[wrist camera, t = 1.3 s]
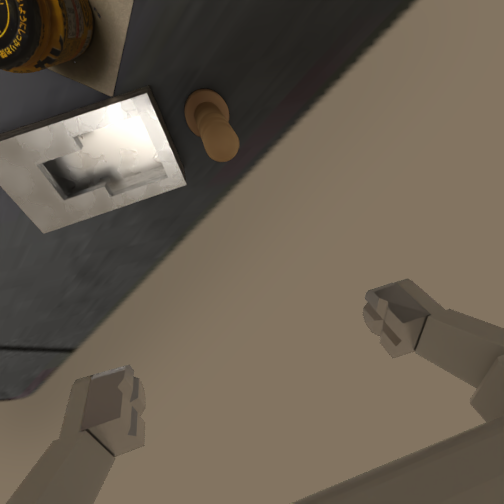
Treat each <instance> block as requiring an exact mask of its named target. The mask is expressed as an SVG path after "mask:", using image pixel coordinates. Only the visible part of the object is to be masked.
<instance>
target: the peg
mask: <svg viewBox="0 0 504 504" xmlns="http://www.w3.org/2000/svg"><path fill="white" fill-rule="evenodd" d="M184 113H185V118H186V122H187V124H188V126H189V128H190V129H191V131H192V132H193V133H194V134H196V135H197V136H199V137H201V138H202V141H203V144H204V147H205V150H206V152H207V154H208V155H209V157H210V158H212V159H213V160H215V161H218V162H226V161H229V160H231V159H232V158H233V157H234V156H235V155H236V154H237V152H238V149H239V139H238V137H237V135H236V133H235V132H234V130H233V129H232V127H231V126H230V124H229V123H228V122H229V110H228V107H227V105H226V103H225V101H224V100H223V99H222V98H221V96H220V95H219V94H218V93H216V92H215V91H213V90H210V89H198V90H196V91H194V92H193V93H192V94H191V95H190V96H189V97H188V98H187V100H186V103H185V108H184Z"/></svg>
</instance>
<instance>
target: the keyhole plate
mask: <svg viewBox="0 0 504 504" xmlns="http://www.w3.org/2000/svg"><path fill="white" fill-rule="evenodd" d="M185 185H187V184H186V177H185V170H184V167H183V165H182V162H181V160H180V158H179V155H178V153H177V151H176V148H175V146H174V143H173V141H172V139H171V136H170V134H169V132H168V129H167V127H166V124H165V122H164V120H163V117H162V115H161V113H160V110H159V108H158V106H157V103H156V101H155V98H154V96H153V94H152V91H151V89H150V87H149V85H148V86H145V87H142V88H139V89H136V90H133V91H130V92H127V93H124V94H121V95H118V96H114V97H111V98H108V99H105V100H102V101H99V102H96V103H93V104H90V105H87V106H84V107H81V108H78V109H75V110H72V111H69V112H66V113H63V114H60V115H57V116H54V117H51V118H48V119H44V120H41V121H38V122H35V123H32V124H29V125H26V126H23V127H20V128H17V129H14V130H11V131H8V132H5V133H2V134H0V186H1V187H2V188H3V189H4V190H5V191H6V193H7V194H8V195H9V196H10V197H11V198H12V199H13V200H14V201H15V203H16V204H17V205H18V206H19V207H20V208H21V209H22V210H23V211H24V212H25V214H26V215H27V216H28V217H29V218H30V219H31V220H32V221H33V222H34V223H35V225H36V226H37V227H38V228H39V229H40V230H41V231H42V232H43V233H47V232H50V231H53V230H56V229H59V228H62V227H65V226H68V225H70V224H73V223H76V222H79V221H82V220H85V219H88V218H91V217H94V216H97V215H100V214H103V213H106V212H109V211H111V210H114V209H117V208H120V207H123V206H126V205H129V204H132V203H135V202H138V201H141V200H144V199H147V198H149V197H152V196H155V195H158V194H161V193H164V192H167V191H170V190H173V189H176V188H179V187H182V186H185Z"/></svg>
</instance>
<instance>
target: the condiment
mask: <svg viewBox="0 0 504 504" xmlns="http://www.w3.org/2000/svg"><path fill="white" fill-rule="evenodd" d="M132 5H133V0H0V69H2V70H5V71H9V72H13V73H30V72H36V71H40V70H42V69H45V68H48V69H50V70H52V71H54V72H56V73H59V74H61V75H63V76H65V77H67V78H70V79H72V80H75V81H77V82H79V83H82V84H84V85H86V86H88V87H91V88H93V89H95V90H97V91H99V92H102V93H104V94H106V95H109V96H111V97H113V93H114V87H115V84H116V79H117V75H118V70H119V66H120V61H121V56H122V52H123V47H124V42H125V38H126V32H127V28H128V24H129V19H130V14H131V10H132ZM93 7H95V8H96V11H94V9H93ZM97 13H99V14H100V16H101V19H100V18H99V16H98V15H97ZM74 61H76V63H74Z"/></svg>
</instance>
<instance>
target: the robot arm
mask: <svg viewBox="0 0 504 504" xmlns="http://www.w3.org/2000/svg"><path fill="white" fill-rule="evenodd" d="M365 299H366V300H367V301H368V303H367V304H366V305H365V306H364V308H363V316H364V320H365V323H366V325H367V326H368V328H369V329H370V330H371V332H372V333H374V334H376V335H378V336H380V343H381V345H382V346H383V347H384V348H385V350H386V351H387V352H388V353H389V355H391V357H392V358H396V357H399V356H402V355H405V354H408V353H411V352H414V351H415V353H416V354H418V355H420V356H422V357H423V358H425V359H427V360H428V361H430V362H432V363H434V364H435V365H437V366H439V367H441V368H442V369H444V370H446V371H447V372H450V373H451V374H453V375H454V376H456V377H458V378H460V379H461V380H463V381H465V382H467V383H468V384H470V385H472V386H473V387H475V388H477V389H476V391H475V392H474V394H473V395H472V397H471V398H470V404H471V405H472V406H473V408H474V409H475V410H476V411H477V412H478V413H479V414H480V415H481V416H482V418H483V419H484V420H485V421H486V423H484V424H481V425H479V426H476V427H474V428H472V429H469V430H467V431H464V432H462V433H459V434H457V435H455V436H452V437H450V438H447V439H445V440H443V441H440V442H438V443H435V444H433V445H430V446H428V447H426V448H423V449H421V450H419V451H416V452H414V453H411V454H409V455H406V456H404V457H401V458H399V459H397V460H394V461H392V462H389V463H387V464H385V465H382V466H380V467H377V468H375V469H372V470H370V471H368V472H365V473H363V474H360V475H358V476H356V477H353V478H351V479H348V480H346V481H343V482H341V483H339V484H336V485H334V486H331V487H329V488H327V489H324V490H322V491H319V492H317V493H315V494H312V495H310V496H307V497H305V498H303V499H300V500H298V501H296V502H293V503H290V504H504V328H501V327H498V326H496V325H493V324H490V323H487V322H485V321H482V320H479V319H476V318H473V317H471V316H468V315H465V314H462V313H460V312H457V311H454V310H451V309H448V310H445V309H444V308H443V307H442V306H441V305H439V304H438V303H437V302H436V301H435V300H434V299H432V298H431V297H430V296H429V295H428V294H427V293H425V292H424V291H423V290H422V289H421V288H420V287H419V286H418V285H416V284H415V283H414V282H413V281H411V280H409V279H405V280H401V281H398V282H395V283H390V284H387V285H384V286H381V287H378V288H375V289H372V290H369V291H368V292H367V293H366V296H365ZM133 375H134V370H133V369H132V367H131V366H130V365H126V366H123V367H119V368H116V369H112V370H109V371H105V372H101V373H98V374H94V375H91V376H87V377H84V378H81V379H77V380H76V381H75V382H74V384H73V385H72V388H71V392H70V396H69V400H68V404H67V408H66V412H65V416H64V420H63V424H62V428H61V432H60V436H59V439H58V440H55V441H53V442H52V443H51V444H50V446H49V447H48V449H47V450H46V451H45V452H44V454H43V455H42V456H41V458H40V459H39V460H38V462H37V463H36V464H35V466H34V467H33V468H32V470H31V471H30V472H29V474H28V475H27V476H26V477H25V479H24V480H23V481H22V483H21V484H20V485H19V487H18V488H17V489H16V491H15V492H14V493H13V495H12V496H11V498H10V499H9V500H8V501H7V503H6V504H93V503H94V501H95V499H96V497H97V495H98V493H99V491H100V489H101V487H102V485H103V483H104V481H105V479H106V477H107V475H108V473H109V471H110V468H111V467H112V465H113V463H114V461H115V457H116V456H119V455H121V454H124V453H126V452H129V451H132V450H135V449H137V448H140V447H142V446H144V440H145V439H144V438H145V422H144V421H143V419H142V418H141V414H142V413H143V411H144V409H145V393H144V388H143V385H142V383H141V381H140V379H139V378H136V377H134V376H133Z"/></svg>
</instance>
